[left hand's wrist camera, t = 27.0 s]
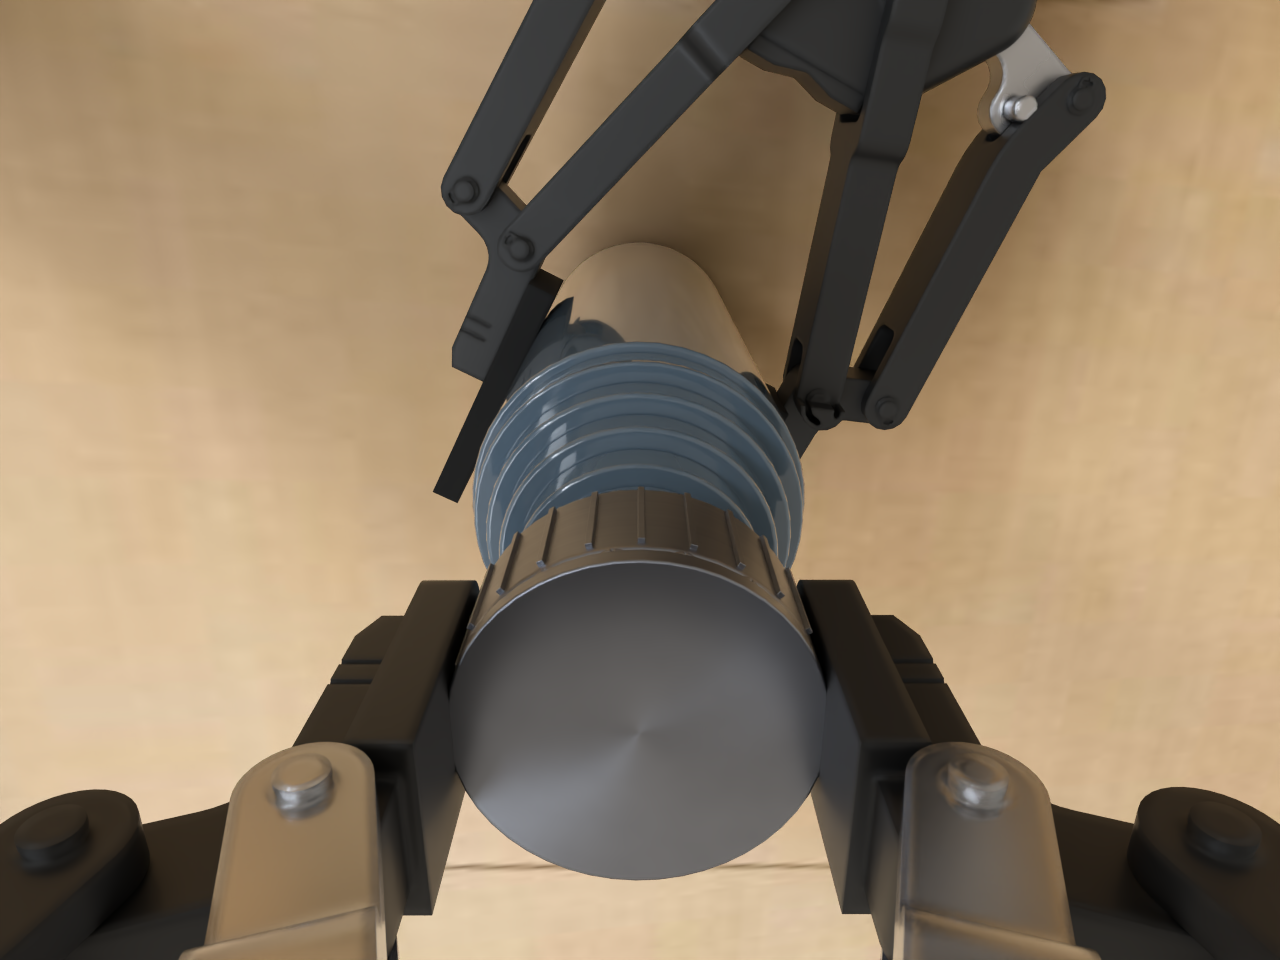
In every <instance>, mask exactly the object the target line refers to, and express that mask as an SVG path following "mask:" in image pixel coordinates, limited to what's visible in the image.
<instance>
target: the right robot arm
mask: <svg viewBox="0 0 1280 960" xmlns="http://www.w3.org/2000/svg"><path fill="white" fill-rule="evenodd" d="M605 1H606V0H533V2H532V4H531V6H530V8H529V10H528V12H527V14H526V16H525V18H524V20H523V22H522V24H521V25H520V27H519V29H518V31H517V33H516V35H515V37H514V39H513V41H512V43H511V45H510V47H509V49H508V51H507V53H506V55H505V57H504V59H503V61H502V63H501V65H500V67H499V69H498V71H497V73H496V75H495V77H494V79H493V81H492V83H491V85H490V87H489V89H488V91H487V93H486V95H485V97H484V99H483V100H482V102H481V104H480V106H479V108H478V110H477V112H476V114H475V116H474V118H473V120H472V122H471V124H470V126H469V128H468V130H467V132H466V134H465V136H464V138H463V140H462V142H461V144H460V146H459V148H458V150H457V152H456V154H455V156H454V158H453V160H452V162H451V164H450V166H449V168H448V170H447V172H446V173H445V175H444V177H443V181H442V185H441V192H442V198H443V200H444V202H445V204H446V205H447V206H448V207H449V208H450V209H451V210H452V211H453V212H454V213H457V214H460V215H461V216H462V217H463V218H464V219H465V220H466V221H467V222H468V223H469V224H470V225H471V226H472V227H473V228H474V229H475V230H476V231H477V232H478V233H479V234H480V236H481V237H482V238H483V240H484V241H485V244H486V246H487V249H488V254H489V260H488V266H487V269H486V271H485V274H484V276H483V278H482V281H481V283H480V285H479V287H478V290H477V292H476V294H475V297H474V299H473V301H472V303H471V306H470V308H469V310H468V312H467V315H466V317H465V319H464V322H463V324H462V326H461V329H460V331H459V333H458V335H457V338H456V340H455V342H454V344H453V347H452V367H454V368H456V369H458V370H460V371H462V372H464V373H466V374H468V375H470V376H472V377H475V378H477V379H479V380H481V381H483V384H482V386H481V388H480V390H479V392H478V394H477V397H476V399H475V401H474V403H473V405H472V408H471V410H470V412H469V414H468V416H467V418H466V421H465V423H464V425H463V427H462V429H461V431H460V434H459V436H458V438H457V440H456V442H455V445H454V447H453V449H452V451H451V453H450V455H449V458H448V460H447V462H446V464H445V466H444V469H443V471H442V473H441V475H440V477H439V479H438V482H437V484H436V486H435V488H434V490H433V492H434V493H436V494H439V495H441V496H443V497H445V498H447V499H450V500H452V501H454V502H456V503H458V501H459V499H460V497H461V495H462V493H463V491H464V489H465V487H466V485H467V483H468V481H469V479H470V477H471V475H472V473H473V471H474V469H475V465H476V462H477V458H478V455H479V451H480V447H481V445H482V443H483V440H484V438H485V436H486V433H487V431H488V429H489V427H490V425H491V423H492V421H493V419H494V417H495V415H496V413H497V411H498V409H499V407H500V406H501V404H502V402H503V400H504V398H505V396H506V394H507V392H508V390H509V388H510V386H511V384H512V382H513V380H514V378H515V376H516V374H517V373H518V371H519V369H520V367H521V365H522V363H523V361H524V359H525V357H526V355H527V353H528V351H529V349H530V347H531V345H532V343H533V342H534V340H535V338H536V336H537V334H538V332H539V330H540V328H541V326H542V324H543V322H544V320H545V318H546V316H547V314H548V312H549V310H550V308H551V306H552V304H553V302H554V299H555V297H556V295H557V293H558V291H559V289H560V287H561V285H562V283H563V280H562V279H560V278H558V277H556V276H554V275H552V274H550V273H548V272H546V271H544V270H542V269H540V268H541V266H542V264H543V262H544V260H545V257H546V256H547V255H548V254H549V253H550V252H551V251H552V250H553V249H554V248H555V247H556V246H557V245H558V244H559V243H560V242H561V241H562V240H563V239H564V238H565V236H566V235H567V234H568V233H569V232H570V231H571V230H572V229H573V228H574V227H575V226H576V225H577V224H578V223H579V222H580V221H581V220H582V219H583V218H584V217H585V215H586V214H587V213H588V212H589V211H590V210H591V209H592V208H593V207H594V206H595V205H596V204H597V203H598V202H599V201H600V200H601V199H602V198H603V197H604V196H605V195H606V193H607V192H608V191H609V190H610V189H611V188H612V187H613V186H614V185H615V184H616V183H617V182H618V181H619V180H620V179H621V178H622V177H623V176H624V175H625V174H626V173H627V171H628V170H629V169H630V168H631V167H632V166H633V165H634V164H635V163H636V162H637V161H638V160H639V159H640V158H641V157H642V156H643V155H644V154H645V153H646V152H647V150H648V149H649V148H650V147H651V146H652V145H653V144H654V143H655V142H656V141H657V140H658V139H659V138H660V137H661V136H662V135H663V134H664V133H665V132H666V131H667V130H668V128H669V127H670V126H671V125H672V124H673V123H674V122H675V121H676V120H677V119H678V118H679V117H680V116H681V115H682V114H683V113H684V112H685V111H686V110H687V109H688V108H689V106H690V105H691V104H692V103H693V102H694V101H695V100H696V99H697V98H698V97H699V96H700V95H701V94H702V93H703V92H704V91H705V90H706V89H707V88H708V87H709V86H710V84H711V83H712V82H713V81H714V80H715V79H716V78H717V77H718V76H719V75H720V74H721V73H722V72H723V71H724V70H725V69H726V68H727V67H728V66H729V65H730V64H731V63H732V62H733V61H734V60H735V59H736V58H737V57H738V56H740V57H741V58H743V59H745V60H747V61H748V62H750V63H752V64H754V65H755V66H757V67H759V68H760V69H762V70H764V71H769V72H773V73H777V74H781V75H785V76H790V77H793V78H794V79H796V80H797V81H798V82H799V83H800V85H801V86H802V87H803V88H804V89H805V90H806V91H807V92H808V93H809V94H810V95H811V96H812V97H813V98H814V99H815V100H816V101H818V102H819V103H821V104H823V105H824V106H826V107H828V108H830V109H831V110H833V111H835V112H837V113H836V118H835V122H834V127H833V132H832V137H831V144H830V152H831V156H830V163H829V167H828V172H827V176H826V181H825V186H824V190H823V195H822V199H821V204H820V209H819V213H818V218H817V222H816V227H815V232H814V236H813V241H812V245H811V250H810V254H809V259H808V264H807V268H806V273H805V277H804V282H803V287H802V291H801V296H800V300H799V305H798V310H797V314H796V319H795V323H794V328H793V332H792V337H791V342H790V346H789V351H788V355H787V360H786V365H785V369H784V374H783V383H782V384H781V386H780V388H779V390H778V391H776V389H775V388H774V387H772V386H770V385H768V384H766V383H765V384H766V386H767V388H768V390H769V392H770V394H771V396H772V398H773V400H774V402H775V404H776V406H777V407H778V409H779V411H780V413H781V415H782V417H783V419H784V421H785V423H786V425H787V427H788V429H789V431H790V434H791V436H792V438H793V440H794V442H795V445H796V448H797V451H798V454H799V458H801V457H802V455H803V453H804V452H805V450H806V448H807V447H808V445H809V444H810V442H811V440H812V439H813V437H814V435H815V434H816V433H817V432H818V430H828V429H831V428H833V427H835V426H837V425H838V424H839V423H840V422H841V421H842V420H847V421H855V422H864V423H870V424H871V425H872V426H874V427H875V428H877V429H882V430H887V429H892V428H895V427H896V426H898V425H900V424H901V423H902V422H903V420H904V419H905V418H906V417H907V415H908V413H909V411H910V409H911V407H912V406H913V404H914V402H915V400H916V398H917V397H918V395H919V393H920V391H921V389H922V387H923V386H924V384H925V382H926V380H927V378H928V376H929V375H930V373H931V371H932V369H933V367H934V366H935V364H936V362H937V360H938V358H939V356H940V355H941V353H942V351H943V349H944V347H945V345H946V344H947V342H948V340H949V338H950V336H951V335H952V333H953V331H954V329H955V327H956V325H957V324H958V322H959V320H960V318H961V316H962V314H963V313H964V311H965V309H966V307H967V305H968V303H969V302H970V300H971V298H972V296H973V294H974V293H975V291H976V289H977V287H978V285H979V283H980V282H981V280H982V278H983V276H984V274H985V272H986V271H987V269H988V267H989V265H990V263H991V262H992V260H993V258H994V256H995V254H996V252H997V251H998V249H999V247H1000V245H1001V243H1002V241H1003V240H1004V238H1005V236H1006V234H1007V232H1008V231H1009V229H1010V227H1011V225H1012V223H1013V221H1014V220H1015V218H1016V216H1017V214H1018V212H1019V210H1020V209H1021V207H1022V205H1023V203H1024V201H1025V200H1026V198H1027V196H1028V194H1029V192H1030V190H1031V189H1032V187H1033V185H1034V183H1035V181H1036V179H1037V178H1038V176H1039V174H1040V172H1041V171H1042V170H1043V169H1044V168H1045V167H1046V166H1047V165H1048V164H1049V163H1050V162H1051V161H1052V160H1053V159H1054V158H1055V157H1056V156H1057V155H1058V154H1059V153H1060V152H1061V151H1062V150H1063V149H1064V148H1065V147H1066V146H1067V145H1068V144H1070V143H1071V142H1072V141H1073V140H1074V139H1075V138H1076V137H1077V136H1078V135H1079V134H1080V133H1081V132H1082V131H1083V130H1084V129H1085V128H1086V127H1087V126H1088V125H1089V124H1090V123H1091V122H1092V121H1093V120H1094V119H1095V118H1096V117H1097V116H1098V114H1099V113H1100V111H1101V110H1102V109H1103V106H1104V103H1105V99H1106V89H1105V86H1104V84H1103V82H1102V80H1101V79H1100V78H1099V77H1098V76H1096V75H1095V74H1094V73H1088V72H1080V73H1071V72H1070V71H1069V70H1068V69H1067V68H1066V67H1065V66H1064V64H1063V63H1062V62H1061V61H1060V60H1059V58H1058V57H1057V56H1056V55H1055V53H1054V52H1053V51H1052V50H1051V49H1050V47H1049V46H1048V45H1047V44H1046V43H1045V41H1044V40H1043V39H1042V38H1041V37H1040V35H1039V34H1038V33H1037V32H1036V31H1035V29H1034V28H1033V27H1032V26H1031V25H1030V21H1031V19H1032V17H1033V14H1034V11H1035V7H1036V1H1037V0H715V2H714V3H713V4H712V5H711V6H710V7H709V8H708V9H707V10H706V11H705V12H704V13H703V14H702V16H701V17H700V18H699V19H698V20H697V21H696V22H695V23H694V24H693V25H692V26H691V28H690V29H689V30H688V31H687V32H686V33H685V35H684V36H683V37H682V38H681V39H680V40H679V41H678V43H677V44H676V45H675V46H674V47H673V48H672V49H671V50H670V51H669V52H668V53H667V55H666V56H665V57H664V58H663V59H662V60H661V61H660V62H659V63H658V64H657V65H656V66H655V67H654V69H653V70H652V71H651V72H650V73H649V74H648V75H647V76H646V77H645V78H644V79H643V80H642V82H641V83H640V84H639V85H638V86H637V87H636V88H635V89H634V90H633V91H632V92H631V93H630V94H629V96H628V97H627V98H626V99H625V100H624V101H623V102H622V103H621V104H620V105H619V106H618V107H617V109H616V110H615V111H614V112H613V113H612V114H611V115H610V116H609V117H608V118H607V119H606V120H605V121H604V123H603V124H602V125H601V126H600V127H599V128H598V129H597V130H596V131H595V132H594V133H593V134H592V135H591V137H590V138H589V139H588V140H587V141H586V142H585V143H584V144H583V145H582V146H581V147H580V148H579V150H578V151H577V152H576V153H575V154H574V155H573V156H572V157H571V158H570V159H569V160H568V161H567V162H566V164H565V165H564V166H563V167H562V168H561V169H560V170H559V171H558V172H557V173H556V174H555V175H554V177H553V178H552V179H551V180H550V181H549V182H548V183H547V184H546V185H545V186H544V187H543V188H542V189H541V191H540V192H539V193H538V194H537V195H536V196H535V197H534V198H533V199H532V200H531V201H530V202H529V203H528V205H527V206H526V204H525V203H524V202H523V201H522V200H521V199H520V198H519V197H518V196H517V195H516V194H515V193H514V192H513V191H512V190H511V188H510V187H509V186H508V183H509V181H510V179H511V177H512V175H513V174H514V172H515V170H516V168H517V166H518V164H519V162H520V160H521V159H522V157H523V155H524V153H525V151H526V149H527V147H528V145H529V144H530V142H531V140H532V138H533V136H534V134H535V132H536V130H537V129H538V127H539V125H540V123H541V121H542V119H543V117H544V115H545V114H546V112H547V110H548V108H549V106H550V104H551V102H552V101H553V99H554V97H555V95H556V93H557V91H558V89H559V87H560V86H561V84H562V82H563V80H564V78H565V76H566V74H567V72H568V71H569V69H570V67H571V65H572V63H573V61H574V59H575V57H576V56H577V54H578V52H579V50H580V48H581V46H582V44H583V42H584V41H585V39H586V37H587V35H588V33H589V31H590V29H591V27H592V26H593V24H594V22H595V20H596V18H597V16H598V14H599V12H600V11H601V9H602V7H603V5H604V3H605ZM984 61H986V63H987V65H988V67H989V71H990V82H989V85H988V89H987V90H986V92H985V94H984V95H983V97H982V99H981V100H980V102H979V105H978V109H977V118H978V121H979V124H980V126H981V127H982V130H981V131H980V133H979V134H978V135H977V136H976V137H975V139H974V140H973V142H972V143H971V144H970V146H969V147H968V148H967V150H966V151H965V153H964V155H963V156H962V158H961V160H960V162H959V163H958V165H957V167H956V168H955V170H954V172H953V174H952V176H951V178H950V180H949V182H948V184H947V186H946V188H945V190H944V192H943V194H942V196H941V198H940V200H939V202H938V204H937V205H936V207H935V209H934V211H933V213H932V215H931V217H930V219H929V221H928V223H927V225H926V227H925V229H924V231H923V233H922V235H921V237H920V239H919V241H918V242H917V244H916V246H915V248H914V250H913V252H912V254H911V256H910V258H909V260H908V262H907V264H906V266H905V268H904V270H903V272H902V274H901V276H900V277H899V279H898V281H897V283H896V285H895V287H894V289H893V291H892V293H891V295H890V297H889V299H888V301H887V303H886V305H885V307H884V309H883V311H882V313H881V314H880V316H879V318H878V320H877V322H876V324H875V326H874V328H873V330H872V332H871V334H870V336H869V338H868V340H867V342H866V344H865V346H864V348H863V350H862V351H861V353H860V355H859V357H858V359H857V361H856V363H855V365H854V367H849V365H850V361H851V356H852V352H853V348H854V344H855V340H856V336H857V332H858V328H859V324H860V320H861V316H862V312H863V308H864V303H865V299H866V295H867V291H868V287H869V283H870V279H871V275H872V271H873V267H874V263H875V259H876V255H877V251H878V246H879V242H880V238H881V234H882V230H883V226H884V222H885V218H886V214H887V210H888V206H889V202H890V198H891V194H892V189H893V185H894V181H895V177H896V173H897V170H898V167H899V165H900V163H901V162H902V160H903V159H904V157H905V155H906V153H907V150H908V147H909V144H910V140H911V136H912V132H913V128H914V124H915V120H916V116H917V112H918V108H919V104H920V100H921V96H922V94H923V93H925V92H927V91H929V90H930V89H932V88H934V87H936V86H938V85H940V84H942V83H944V82H946V81H948V80H950V79H951V78H953V77H955V76H957V75H959V74H961V73H963V72H965V71H967V70H969V69H970V68H972V67H974V66H976V65H978V64H980V63H982V62H984Z"/></svg>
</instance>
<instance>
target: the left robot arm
mask: <svg viewBox="0 0 1280 960" xmlns="http://www.w3.org/2000/svg"><path fill="white" fill-rule="evenodd" d="M797 589H798V592H799V595H800V598H801V601H802V603H803V606H804V609H805V612H806V615H807V618H808V620H809V623H810V626H811V629H812V632H813V633H811V634H810V636H811V639H812V642H813V645H814V648H815V651H816V653H817V657H818V660H819V662H820V665H821V668H822V671H823V674H824V678H825V681H826V685H827V695H826V706H825V717H824V728H823V739H822V750H821V761H820V771H819V777H818V779H817V780H816V782H815V784H814V786H813V788H812V790H811V796H812V800H813V804H814V807H815V811H816V815H817V819H818V823H819V827H820V831H821V834H822V838H823V842H824V846H825V850H826V854H827V858H828V862H829V865H830V869H831V873H832V877H833V881H834V885H835V889H836V892H837V896H838V900H839V904H840V908H841V912H842V914H871V915H872V918H873V922H874V925H875V928H876V932H877V935H878V939H879V942H880V945H881V947H882V949H881V956H880V960H1280V824H1279V823H1277V822H1276V821H1274V820H1273V819H1271V818H1270V817H1268V816H1267V815H1266V814H1264V813H1262V812H1260V811H1259V810H1257V809H1255V808H1253V807H1251V806H1249V805H1247V804H1245V803H1243V802H1241V801H1238V800H1236V799H1233V798H1231V797H1228V796H1225V795H1222V794H1219V793H1215V792H1212V791H1208V790H1202V789H1197V788H1188V787H1170V788H1163V789H1159V790H1156V791H1153V792H1151V793H1150V794H1148V795H1147V796H1145V797H1144V799H1143V800H1142V801H1141V802H1140V805H1139V808H1138V811H1137V815H1136V819H1135V823H1134V824H1132V823H1128V822H1123V821H1119V820H1114V819H1110V818H1105V817H1101V816H1096V815H1092V814H1087V813H1083V812H1078V811H1074V810H1070V809H1067V808H1063V807H1059V806H1057V805H1054V804H1051V802H1050V798H1049V795H1048V792H1047V790H1046V788H1045V786H1044V784H1043V783H1042V782H1041V780H1040V779H1039V778H1038V777H1037V776H1036V775H1035V774H1034V773H1033V772H1032V771H1031V770H1030V769H1029V768H1028V767H1026V766H1025V765H1023V764H1022V763H1021V762H1019V761H1018V760H1016V759H1014V758H1012V757H1011V756H1009V755H1007V754H1004V753H1002V752H1000V751H998V750H995V749H992V748H989V747H986V746H982V745H981V744H980V742H979V740H978V739H977V737H976V735H975V733H974V731H973V730H972V728H971V726H970V724H969V722H968V721H967V719H966V717H965V715H964V713H963V712H962V710H961V708H960V706H959V705H958V703H957V701H956V699H955V697H954V696H953V694H952V692H951V690H950V688H949V687H948V685H947V683H944V678H943V676H942V674H941V672H940V671H939V669H938V667H937V665H936V664H933V658H932V656H931V654H930V653H929V651H928V649H927V647H926V646H925V644H924V642H923V640H922V638H921V637H920V635H919V634H917V633H916V632H915V631H913V630H912V629H911V628H909V627H908V626H907V625H906V624H904V623H903V622H902V621H900V620H899V619H898V618H896V617H895V616H894V615H870V612H869V610H868V608H867V606H866V604H865V602H864V600H863V598H862V596H861V594H860V592H859V590H858V587H857V585H856V583H855V582H854V581H853V580H799V582H798V584H797ZM478 594H479V586H478V583H477V581H475V580H444V581H422V582H421V583H420V585H419V586H418V588H417V591H416V593H415V595H414V597H413V599H412V601H411V603H410V605H409V607H408V609H407V611H406V613H405V615H404V616H381V617H380V618H378V619H377V620H376V621H374V622H373V623H372V624H371V625H369V626H368V627H367V628H365V629H364V630H363V631H361V632H360V633H359V634H357V635H356V636H355V637H354V639H353V641H352V643H351V644H350V646H349V648H348V650H347V651H346V653H345V655H344V657H343V658H342V664H339V665H338V667H337V669H336V671H335V672H334V674H333V676H332V678H331V683H330V684H328V685H327V687H326V688H325V690H324V692H323V694H322V695H321V697H320V699H319V701H318V702H317V704H316V706H315V708H314V709H313V711H312V713H311V715H310V716H309V718H308V720H307V722H306V723H305V725H304V727H303V729H302V731H301V732H300V734H299V736H298V738H297V739H296V741H295V743H294V745H293V746H292V747H291V748H288V749H285V750H282V751H280V752H278V753H276V754H273V755H271V756H269V757H268V758H266V759H264V760H262V761H261V762H259V763H258V764H257V765H255V766H254V767H252V768H251V769H250V770H249V771H248V772H247V773H246V774H245V775H244V776H243V777H242V778H241V779H240V780H239V782H238V783H237V784H236V786H235V788H234V790H233V791H232V795H231V798H230V802H228V803H226V804H223V805H220V806H217V807H215V808H211V809H208V810H204V811H200V812H196V813H192V814H187V815H183V816H178V817H174V818H169V819H165V820H160V821H156V822H151V823H147V824H142V822H141V818H140V814H139V811H138V808H137V805H136V804H135V803H134V801H133V800H132V799H131V798H129V797H128V796H126V795H125V794H122V793H119V792H116V791H110V790H83V791H77V792H72V793H67V794H63V795H60V796H56V797H53V798H50V799H48V800H45V801H42V802H39V803H37V804H35V805H33V806H31V807H29V808H26V809H24V810H23V811H21V812H19V813H17V814H16V815H14V816H12V817H10V818H9V819H7V820H6V821H5V822H3V823H2V824H0V960H400V956H399V949H398V942H397V932H398V929H399V926H400V922H401V919H402V916H403V915H432V914H433V910H434V906H435V903H436V899H437V895H438V891H439V887H440V884H441V880H442V876H443V872H444V869H445V865H446V861H447V857H448V854H449V850H450V846H451V842H452V839H453V835H454V831H455V827H456V823H457V820H458V816H459V812H460V808H461V805H462V801H463V797H464V793H465V789H464V787H463V785H462V783H461V781H460V779H459V777H458V775H457V773H456V769H455V761H454V750H453V739H452V729H451V718H450V707H449V686H450V683H451V680H452V677H453V674H454V671H455V663H456V660H457V657H458V654H459V651H460V648H461V646H462V643H463V640H464V637H465V634H466V631H467V625H468V623H469V620H470V617H471V614H472V611H473V608H474V606H475V603H476V600H477V597H478Z"/></svg>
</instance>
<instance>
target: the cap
mask: <svg viewBox="0 0 1280 960" xmlns="http://www.w3.org/2000/svg"><path fill="white" fill-rule="evenodd" d="M811 633H813V632H812V629H811V626H810V623H809V620H808V618H807V615H806V612H805V609H804V606H803V603H802V601H801V598H800V595H799V592H798V589H797V586H796V584H795V581H794V578H793V575H792V572H791V570H790V568H789V567H788V568H786V569H785V568H784V567H783V565H782V564H781V562H780V561H779V559H778V558H777V556H776V554H775V553H774V552H773V551H772V550H771V548H770V547H769V544H768V540H767V538H766V537H765V536H764V535H762V536H758V535H757V534H756V533H755V532H754V531H753V530H751V529H750V528H749V527H748V526H747V525H746V524H744V523H743V522H741V521H740V520H739V519H737V518H735V517H734V516H733V512H732V511H731V510H729V509H727V510H726V511H723V510H721V509H719V508H717V507H715V506H713V505H711V504H709V503H706V502H703V501H700V500H697V499H694V498H691V494H690V493H686V492H685V493H684V495H683V494H678V493H670V492H665V491H653V490H645V488H644V487H638V490H617V491H611V492H608V493H602V494H598V491H596V492H592V494H591V496H589V497H586V498H583V499H579V500H576V501H573V502H571V503H569V504H567V505H564V506H562V507H559V508H557V509H556V508H555V507H552V508H550V509H549V511H548V514H547V515H545V516H544V517H542V518H540V519H539V520H537V521H535V522H534V523H533V524H532V525H530V526H529V527H528V528H527V529H526V530H524V531H523V532H522V533H520V532H518V531H517V532H516V533H515V534H514V536H513V539H512V542H511V544H510V545H509V546H508V547H507V548H506V549H505V551H504V552H503V553H502V555H501V556H500V558H499V559H498V561H497V562H496V563H495V565H494V564H492V563H490V565H489V567H488V569H487V572H486V574H485V577H484V580H483V583H482V586H481V589H480V591H479V594H478V597H477V600H476V603H475V606H474V608H473V611H472V614H471V617H470V620H469V623H468V625H467V631H466V634H465V637H464V640H463V643H462V646H461V648H460V651H459V654H458V657H457V660H456V663H455V671H454V674H453V677H452V680H451V683H450V686H449V707H450V718H451V729H452V739H453V750H454V761H455V769H456V773H457V775H458V777H459V779H460V781H461V783H462V785H463V787H464V789H465V791H466V792H467V794H468V795H469V797H470V798H471V799H472V801H473V802H474V804H475V805H476V807H477V808H478V809H479V810H480V812H481V813H482V814H483V815H484V816H485V817H486V818H487V819H488V820H489V822H490V823H491V824H492V825H493V826H495V827H496V828H497V829H498V830H499V831H500V832H502V833H503V834H504V835H505V836H506V837H507V838H509V839H510V840H512V841H513V842H515V843H516V844H518V845H519V846H520V847H522V848H523V849H525V850H526V851H528V852H530V853H532V854H534V855H536V856H538V857H540V858H542V859H544V860H546V861H548V862H551V863H553V864H556V865H558V866H561V867H563V868H566V869H569V870H573V871H576V872H580V873H584V874H587V875H592V876H598V877H604V878H610V879H622V880H657V879H666V878H673V877H680V876H685V875H689V874H693V873H697V872H701V871H705V870H708V869H710V868H713V867H716V866H719V865H721V864H724V863H727V862H729V861H731V860H733V859H735V858H737V857H739V856H741V855H743V854H745V853H747V852H748V851H750V850H752V849H753V848H755V847H756V846H758V845H759V844H761V843H762V842H764V841H765V840H767V839H768V838H769V837H770V836H772V835H773V834H774V833H775V832H776V831H778V830H779V829H780V828H781V827H782V826H783V825H784V824H785V823H786V822H787V821H788V820H789V819H790V818H791V817H792V816H793V815H794V814H795V813H796V812H797V810H798V809H799V808H800V806H801V805H802V803H803V802H804V801H805V799H806V798H807V797H808V795H809V794H810V792H811V790H812V788H813V786H814V784H815V782H816V780H817V779H818V777H819V771H820V761H821V750H822V739H823V728H824V717H825V706H826V695H827V685H826V681H825V678H824V674H823V671H822V668H821V665H820V662H819V660H818V657H817V653H816V651H815V648H814V645H813V642H812V639H811V636H810V634H811Z"/></svg>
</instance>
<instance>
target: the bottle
mask: <svg viewBox="0 0 1280 960" xmlns="http://www.w3.org/2000/svg"><path fill="white" fill-rule="evenodd" d="M638 487H644V488H645V490H653V491H665V492H670V493H678V494H683V495H684V493H685V492H686V493H690V494H691V498H694V499H697V500H700V501H703V502H706V503H709V504H711V505H713V506H715V507H717V508H719V509H721V510H723V511H726V510H727V509H729V510H731V511H732V512H733V516H734V517H735V518H737V519H739V520H740V521H741V522H743V523H744V524H746V525H747V526H748V527H749V528H750V529H751V530H753V531H754V532H755V533H756V534H757V535H758V536H762V535H764V536H765V537H766V538H767V540H768V544H769V547H770V548H771V550H772V551H773V552H774V553H775V554H776V556H777V558H778V559H779V561H780V562H781V564H782V565H783V567H784V568H785V569H786V568H788V567H789V568H790V569H791V567H792V564H793V562H794V560H795V557H796V553H797V550H798V546H799V542H800V538H801V530H802V523H803V511H804V478H803V472H802V465H801V461H800V458H799V454H798V451H797V448H796V445H795V442H794V440H793V438H792V436H791V434H790V431H789V429H788V427H787V425H786V423H785V421H784V419H783V417H782V415H781V413H780V411H779V409H778V407H777V406H776V404H775V402H774V400H773V398H772V396H771V394H770V392H769V390H768V388H767V386H766V384H765V382H764V380H763V378H762V376H761V374H760V372H759V370H758V369H757V367H756V365H755V363H754V361H753V359H752V357H751V355H750V353H749V351H748V349H747V347H746V345H745V343H744V341H743V339H742V337H741V335H740V333H739V332H738V330H737V328H736V326H735V324H734V322H733V320H732V318H731V316H730V314H729V312H728V310H727V308H726V306H725V304H724V302H723V300H722V298H721V296H720V295H719V293H718V291H717V289H716V287H715V285H714V284H713V282H712V281H711V279H710V278H709V277H708V275H707V274H706V273H705V272H704V271H703V270H702V268H700V267H699V266H698V265H697V264H696V263H695V262H694V261H692V260H691V259H689V258H688V257H686V256H685V255H684V254H682V253H680V252H678V251H676V250H674V249H671V248H668V247H665V246H662V245H657V244H652V243H641V242H635V243H625V244H620V245H615V246H612V247H609V248H607V249H604V250H602V251H600V252H598V253H596V254H594V255H592V256H591V257H589V258H588V259H586V260H585V261H584V262H582V263H581V264H580V265H579V266H578V267H577V268H576V269H575V270H574V271H573V272H572V273H571V275H570V276H569V277H568V278H567V279H566V281H565V283H564V284H563V286H562V288H561V289H560V291H559V293H558V295H557V297H556V299H555V301H554V303H553V305H552V307H551V309H550V311H549V312H548V314H547V316H546V318H545V320H544V322H543V324H542V326H541V328H540V330H539V332H538V334H537V336H536V338H535V340H534V342H533V343H532V345H531V347H530V349H529V351H528V353H527V355H526V357H525V359H524V361H523V363H522V365H521V367H520V369H519V371H518V373H517V374H516V376H515V378H514V380H513V382H512V384H511V386H510V388H509V390H508V392H507V394H506V396H505V398H504V400H503V402H502V404H501V406H500V407H499V409H498V411H497V413H496V415H495V417H494V419H493V421H492V423H491V425H490V427H489V429H488V431H487V433H486V436H485V438H484V440H483V443H482V445H481V447H480V451H479V455H478V458H477V462H476V465H475V471H474V479H473V511H474V524H475V530H476V537H477V543H478V546H479V550H480V553H481V556H482V559H483V562H484V565H485V567H486V569H488V567H489V565H490V563H492V564H494V565H495V563H496V562H497V561H498V559H499V558H500V556H501V555H502V553H503V552H504V551H505V549H506V548H507V547H508V546H509V545H510V544H511V542H512V539H513V536H514V534H515V533H516V532H517V531H518V532H520V533H522V532H523V531H524V530H526V529H527V528H528V527H529V526H530V525H532V524H533V523H534V522H535V521H537V520H539V519H540V518H542V517H544V516H545V515H547V514H548V511H549V509H550V508H552V507H555V508H556V509H557V508H559V507H562V506H564V505H567V504H569V503H571V502H573V501H576V500H579V499H583V498H586V497H589V496H591V494H592V492H596V491H598V494H602V493H608V492H611V491H617V490H638Z"/></svg>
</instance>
